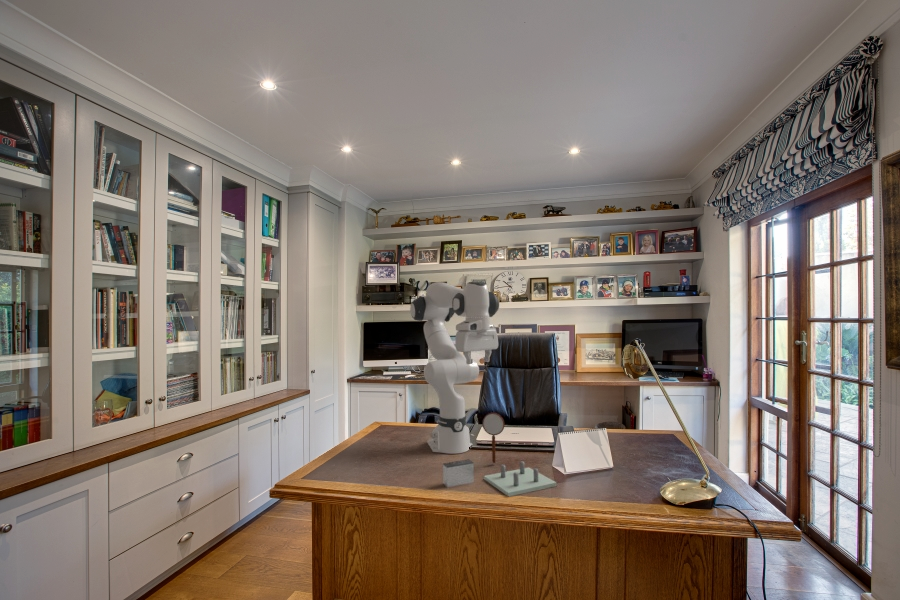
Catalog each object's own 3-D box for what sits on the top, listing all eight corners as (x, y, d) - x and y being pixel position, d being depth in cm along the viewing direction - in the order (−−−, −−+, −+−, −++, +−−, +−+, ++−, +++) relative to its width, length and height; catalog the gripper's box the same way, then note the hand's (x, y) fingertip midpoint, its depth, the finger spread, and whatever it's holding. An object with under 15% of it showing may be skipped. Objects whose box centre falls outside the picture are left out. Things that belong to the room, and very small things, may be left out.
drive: (443, 484, 144) (443, 463, 145) (469, 479, 149) (468, 459, 149) (447, 487, 141) (447, 466, 141) (473, 482, 145) (473, 462, 146)
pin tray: (484, 479, 148) (483, 464, 148) (528, 470, 156) (528, 456, 156) (508, 496, 133) (508, 480, 134) (556, 486, 141) (556, 470, 141)
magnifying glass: (482, 464, 163) (481, 412, 163) (483, 463, 164) (482, 411, 165) (504, 466, 160) (503, 413, 161) (505, 465, 162) (504, 412, 163)
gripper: (489, 324, 164) (489, 360, 163) (452, 325, 149) (452, 364, 149) (501, 324, 159) (502, 361, 159) (465, 325, 145) (465, 366, 144)
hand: (478, 363), depth 154 cm, fingers open, 8 cm apart
